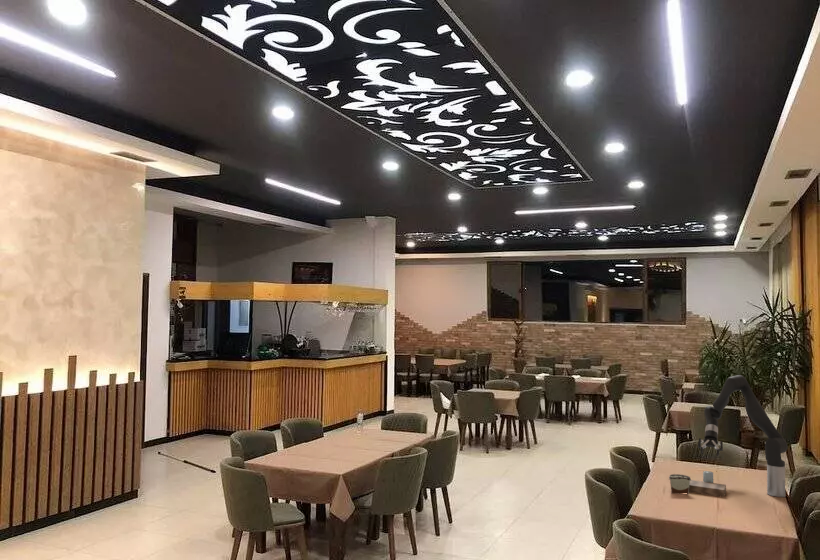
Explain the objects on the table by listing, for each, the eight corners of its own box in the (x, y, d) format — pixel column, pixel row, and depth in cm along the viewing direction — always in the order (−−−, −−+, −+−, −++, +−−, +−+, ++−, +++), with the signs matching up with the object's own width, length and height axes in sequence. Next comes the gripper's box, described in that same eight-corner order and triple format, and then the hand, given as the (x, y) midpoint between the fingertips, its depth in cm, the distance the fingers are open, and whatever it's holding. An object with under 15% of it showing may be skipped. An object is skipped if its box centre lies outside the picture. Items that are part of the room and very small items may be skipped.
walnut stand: (725, 491, 381) (725, 484, 381) (724, 497, 369) (724, 490, 369) (689, 486, 391) (689, 479, 391) (686, 491, 379) (686, 484, 379)
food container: (687, 491, 379) (687, 474, 379) (691, 494, 373) (691, 477, 373) (666, 490, 380) (666, 473, 380) (669, 493, 374) (669, 476, 374)
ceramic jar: (713, 486, 391) (713, 471, 392) (712, 488, 386) (712, 473, 387) (703, 485, 394) (703, 470, 394) (702, 487, 389) (702, 472, 390)
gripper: (698, 428, 413) (696, 449, 402) (723, 431, 406) (722, 452, 395) (699, 435, 417) (697, 456, 407) (723, 438, 410) (722, 459, 400)
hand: (709, 454), depth 401 cm, fingers open, 8 cm apart
